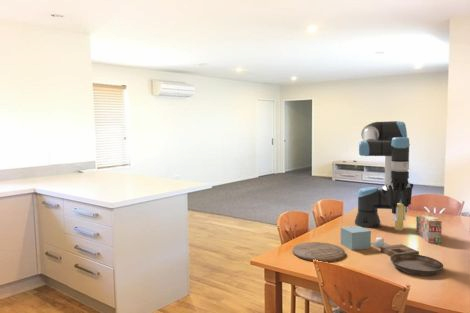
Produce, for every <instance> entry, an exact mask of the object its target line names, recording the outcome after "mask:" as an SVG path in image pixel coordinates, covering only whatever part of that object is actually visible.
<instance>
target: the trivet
mask: <svg viewBox="0 0 470 313" xmlns="http://www.w3.org/2000/svg"><path fill="white" fill-rule="evenodd" d="M292 254H293V255H294V256H295V257H296V258H298V259H301V260H304V261H308V262H313V259H316V260H318V261H327V262H326V263H331V262H337V261H341V260H343V259H344V258H345V256H346V251H345V249H344V248H343V247H341V246H339V245H336V244H333V243H329V242H328V243H327V242H319V241H317V242H316V241H315V242H314V241H310V242H309V241H308V242H303V243H298V244H296V245H294V246H293V247H292Z"/></svg>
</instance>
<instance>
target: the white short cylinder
mask: <svg viewBox="0 0 470 313" xmlns="http://www.w3.org/2000/svg"><path fill="white" fill-rule="evenodd" d="M388 245H390V244H388V243H386V242H385V239H384V238H383V237H376V238H375V242H371V246H373V247H375V248H378V249H380V247H381V246H388Z"/></svg>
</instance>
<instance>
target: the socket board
mask: <svg viewBox="0 0 470 313" xmlns="http://www.w3.org/2000/svg"><path fill="white" fill-rule="evenodd" d="M379 249H380V252H381V253H383V254H385V255H387V256H389V257H391V256H393V255H396V254H417V255H420V251H418V250H415V249H413V248H411V247H409V246H406V245H405V244H403V243H400V244H399V243H398V244H389V245H388V246H381V247H380V248H379Z"/></svg>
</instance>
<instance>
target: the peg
mask: <svg viewBox="0 0 470 313" xmlns="http://www.w3.org/2000/svg"><path fill="white" fill-rule="evenodd" d="M397 207H398V221H395V220H394V230H396V231H403V230H404V220H403V214H404V204H402V203H397Z"/></svg>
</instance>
